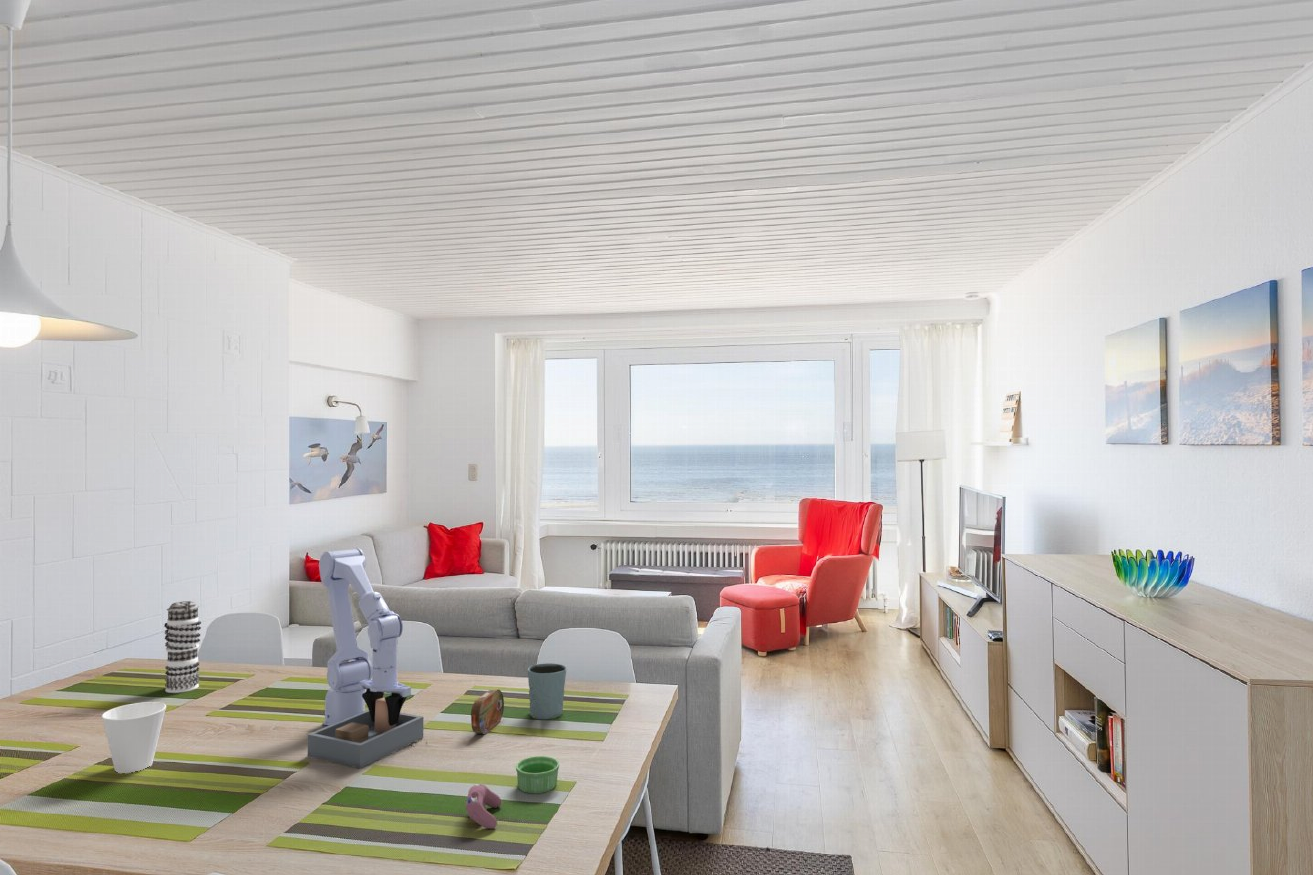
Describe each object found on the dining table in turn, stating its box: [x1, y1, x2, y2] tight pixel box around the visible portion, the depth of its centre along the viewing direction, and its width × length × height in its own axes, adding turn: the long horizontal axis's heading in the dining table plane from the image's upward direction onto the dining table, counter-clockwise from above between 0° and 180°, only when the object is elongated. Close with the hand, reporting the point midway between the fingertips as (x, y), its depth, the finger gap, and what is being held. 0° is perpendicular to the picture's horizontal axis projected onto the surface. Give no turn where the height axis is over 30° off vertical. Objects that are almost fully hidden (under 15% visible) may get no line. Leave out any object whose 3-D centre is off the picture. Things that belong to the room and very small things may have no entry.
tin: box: [470, 689, 505, 735], centre depth 193 cm, size 15×3×8 cm, turn 168°
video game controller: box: [465, 782, 503, 830], centre depth 145 cm, size 10×5×7 cm, turn 6°
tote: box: [307, 709, 424, 769], centre depth 180 cm, size 16×20×5 cm
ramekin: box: [515, 755, 560, 794], centre depth 159 cm, size 9×9×4 cm
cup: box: [101, 701, 167, 774], centre depth 169 cm, size 12×12×12 cm
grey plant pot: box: [527, 662, 567, 720], centre depth 203 cm, size 10×10×12 cm
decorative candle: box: [163, 600, 202, 694], centre depth 225 cm, size 9×9×25 cm
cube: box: [335, 722, 369, 743], centre depth 176 cm, size 5×5×5 cm
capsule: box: [374, 697, 396, 733], centre depth 185 cm, size 5×5×7 cm
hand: (384, 722), depth 185 cm, fingers closed on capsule, 5 cm apart
